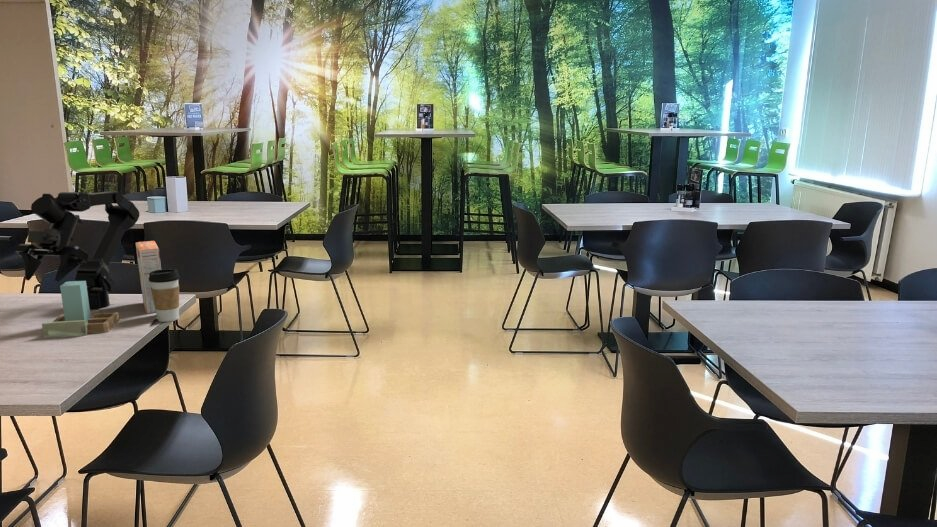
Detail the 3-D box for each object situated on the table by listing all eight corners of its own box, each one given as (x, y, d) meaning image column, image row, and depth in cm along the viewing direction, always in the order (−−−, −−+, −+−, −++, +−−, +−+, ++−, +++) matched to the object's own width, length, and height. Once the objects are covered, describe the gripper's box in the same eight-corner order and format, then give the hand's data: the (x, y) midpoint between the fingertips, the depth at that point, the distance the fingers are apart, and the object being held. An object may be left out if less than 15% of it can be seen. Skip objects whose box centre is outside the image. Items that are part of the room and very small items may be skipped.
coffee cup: (168, 324, 191) (163, 274, 187) (146, 321, 194) (140, 272, 190) (189, 316, 198) (185, 268, 195) (168, 313, 201) (163, 266, 198)
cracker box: (142, 305, 210) (134, 241, 205) (162, 302, 213) (155, 240, 208) (145, 316, 198) (137, 249, 193) (166, 314, 201) (159, 247, 196)
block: (72, 321, 189) (66, 281, 186) (91, 320, 190) (85, 280, 187) (65, 326, 184) (60, 286, 182) (85, 325, 185) (79, 285, 183)
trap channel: (63, 325, 190) (61, 308, 189) (121, 321, 193) (119, 305, 192) (44, 341, 176) (41, 323, 175) (106, 337, 180) (104, 320, 178)
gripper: (11, 216, 182) (-11, 267, 176) (71, 218, 179) (51, 270, 173) (39, 234, 192) (20, 283, 186) (97, 237, 189) (79, 286, 183)
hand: (41, 280), depth 182 cm, fingers open, 9 cm apart
